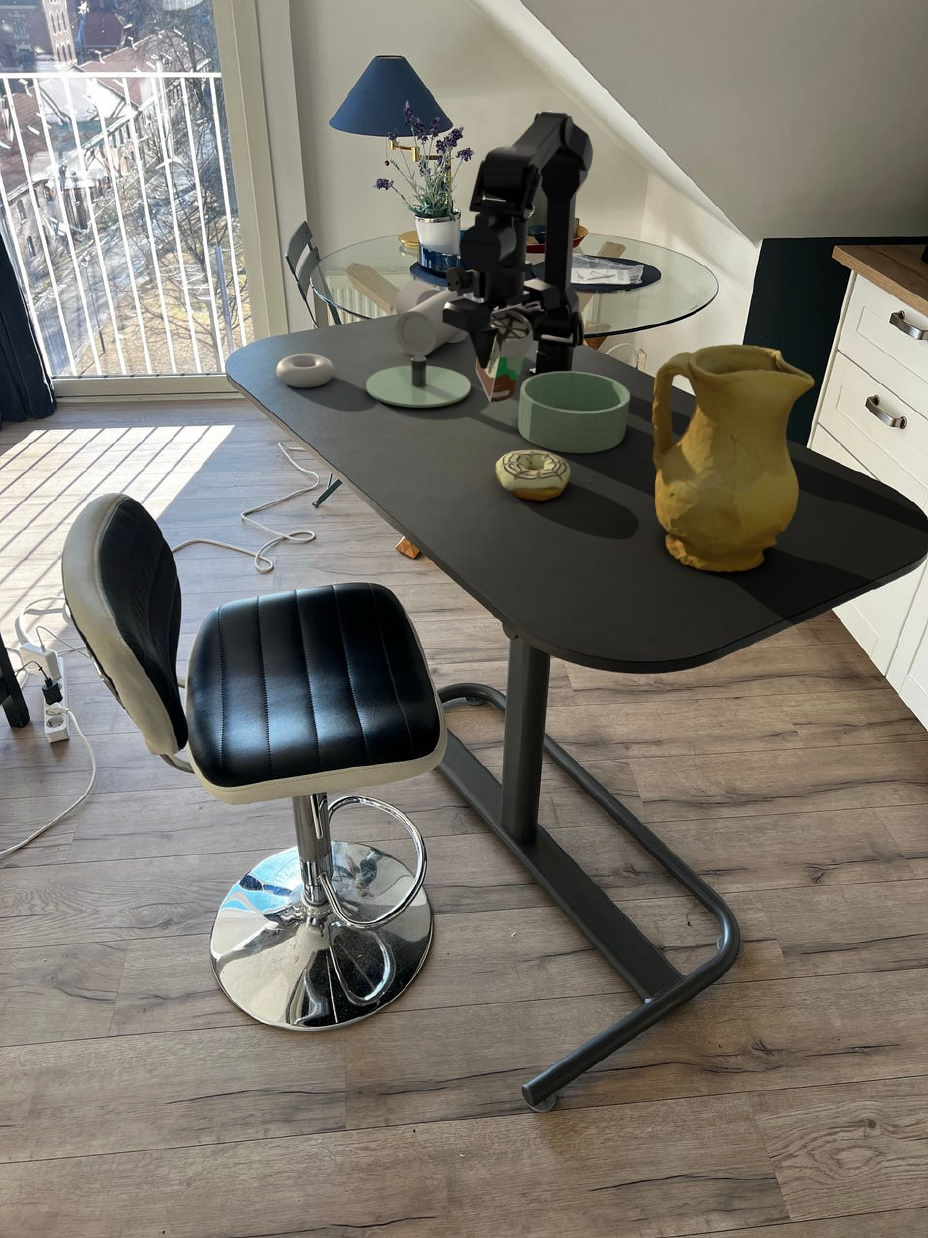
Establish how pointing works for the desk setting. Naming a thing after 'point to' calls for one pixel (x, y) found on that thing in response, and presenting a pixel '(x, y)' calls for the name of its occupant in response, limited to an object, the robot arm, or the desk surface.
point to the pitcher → (726, 455)
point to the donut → (305, 370)
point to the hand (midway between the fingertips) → (499, 362)
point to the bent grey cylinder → (424, 318)
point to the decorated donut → (533, 474)
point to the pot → (573, 411)
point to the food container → (506, 355)
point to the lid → (418, 385)
